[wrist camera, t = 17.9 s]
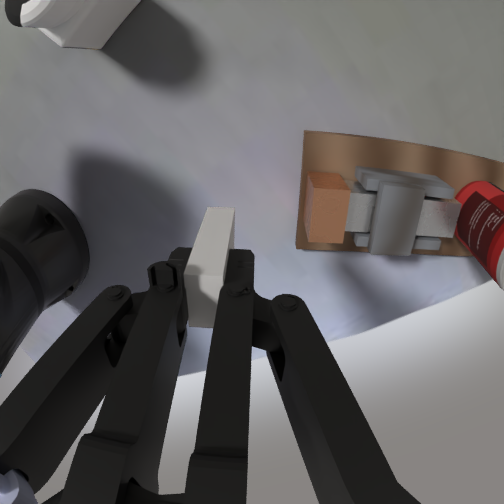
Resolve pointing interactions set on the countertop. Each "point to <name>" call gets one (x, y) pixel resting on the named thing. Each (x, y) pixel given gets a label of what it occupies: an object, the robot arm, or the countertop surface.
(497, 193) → the canned food
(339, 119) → the countertop surface
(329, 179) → the shaft
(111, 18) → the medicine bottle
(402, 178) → the bearing rail
